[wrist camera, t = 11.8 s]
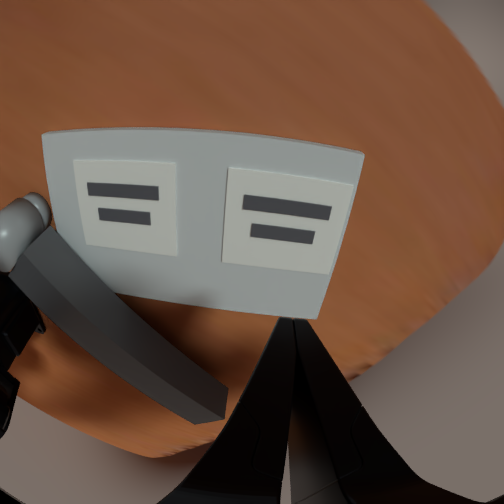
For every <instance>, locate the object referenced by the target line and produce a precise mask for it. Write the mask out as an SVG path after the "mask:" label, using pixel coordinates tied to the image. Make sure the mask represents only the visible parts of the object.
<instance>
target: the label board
mask: <svg viewBox="0 0 504 504" xmlns="http://www.w3.org/2000/svg"><path fill="white" fill-rule="evenodd" d="M42 144H43V153H44V162H45V169H46V176H47V183H48V189H49V194H50V200H51V205H52V210H53V215H54V220H55V224H56V229H57V233H58V235H59V236H60V237H61V238H62V239H63V240H64V241H65V243H66V244H67V245H68V246H69V247H70V248H71V249H72V250H73V251H74V252H75V254H76V255H77V256H78V257H79V258H80V259H81V260H82V261H83V262H84V263H85V264H86V265H87V266H88V267H89V268H90V269H91V270H92V271H93V272H94V273H95V275H96V276H97V277H98V278H99V279H100V280H101V281H102V282H103V283H104V284H105V285H106V286H107V287H109V288H110V289H111V290H112V291H113V292H114V293H120V294H125V295H131V296H137V297H142V298H148V299H154V300H161V301H167V302H173V303H180V304H187V305H193V306H200V307H208V308H215V309H223V310H231V311H239V312H247V313H256V314H265V315H275V316H285V317H295V318H307V319H317V316H318V314H319V311H320V308H321V305H322V302H323V299H324V296H325V293H326V290H327V287H328V284H329V281H330V278H331V275H332V272H333V269H334V266H335V263H336V259H337V256H338V253H339V250H340V246H341V243H342V240H343V236H344V233H345V229H346V226H347V222H348V219H349V215H350V212H351V208H352V204H353V201H354V197H355V193H356V189H357V185H358V181H359V177H360V173H361V169H362V165H363V161H364V157H365V155H364V154H363V153H362V152H361V151H356V150H352V149H347V148H342V147H337V146H331V145H326V144H320V143H315V142H309V141H303V140H296V139H290V138H283V137H275V136H267V135H259V134H250V133H241V132H230V131H218V130H204V129H187V128H156V127H121V128H92V129H75V130H62V131H51V132H47V133H44V134H42ZM23 198H25V199H27V200H29V201H30V202H31V203H32V204H33V205H34V206H35V207H36V209H37V210H38V212H39V214H40V216H41V218H42V222H43V231H44V230H45V229H46V228H47V227H49V225H50V224H51V220H52V214H51V210H50V207H49V205H48V203H47V201H46V200H45V199H44V198H43V197H42V196H41V195H40V194H38V193H35V192H31V193H28V194H27V195H26V196H24V197H23Z"/></svg>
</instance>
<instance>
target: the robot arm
mask: <svg viewBox="0 0 504 504" xmlns="http://www.w3.org/2000/svg"><path fill="white" fill-rule="evenodd" d="M9 274H10V273H9V272H2V271H0V438H1V437H2V436H3V435H4V434H5V432H6V431H7V429H8V426H9V424H10V420H11V416H12V411H13V407H14V403H15V399H16V396H17V392H18V389H19V385H20V382H19V381H18V380H17V379H16V378H14V377H13V376H12V375H11V374H10V373H9V372H8V369H9V368H10V366H11V364H12V362H13V361H14V359H15V357H16V356H19V355H20V354H21V352H22V351H23V349H24V347H25V346H26V344H27V342H28V341H29V339H30V337H31V336H32V334H33V333H34V331H35V332H38V333H41V334H44V332H45V331H46V329H45V327H44V324H43V322H42V320H41V318H40V316H39V314H38V312H37V310H36V307H35V305H34V303H33V302H32V301H31V300H30V299H29V298H28V297H27V296H26V295H25V293H24V292H23V291H22V290H21V289H20V288H19V287H18V286H17V285H16V284H15V283H14V282H13V280H12V279H11V278H10V277H9V276H8V275H9ZM361 406H362V404H361V402H360V401H359V399H358V398H357V396H356V395H355V393H354V391H353V390H352V389H351V387H350V385H349V384H348V382H347V381H346V379H345V377H344V376H343V374H342V373H341V371H340V370H339V368H338V367H337V365H336V364H335V362H334V361H333V359H332V357H331V356H330V354H329V353H328V351H327V350H326V348H325V347H324V345H323V344H322V342H321V341H320V339H319V338H318V336H317V334H316V333H315V331H314V330H313V328H312V327H311V325H310V324H309V322H308V321H307V320H306V319H298V318H294V319H293V320H292V318H287V317H279V318H278V320H277V322H276V325H275V327H274V329H273V331H272V333H271V335H270V338H269V340H268V342H267V344H266V346H265V348H264V350H263V352H262V354H261V357H260V359H259V361H258V363H257V365H256V367H255V369H254V371H253V373H252V375H251V377H250V379H249V381H248V383H247V385H246V387H245V389H244V391H243V393H242V395H241V397H240V399H239V402H238V403H237V405H236V407H235V409H234V411H233V413H232V414H231V416H230V418H229V420H228V421H227V423H226V425H225V427H224V428H223V430H222V431H221V432H220V434H219V435H218V437H217V438H216V440H215V441H214V442H213V444H212V445H211V446H210V448H209V449H208V450H207V451H206V453H205V454H204V456H203V457H202V458H201V459H200V461H199V462H198V463H197V464H196V465H195V467H194V468H193V469H192V470H191V472H190V473H189V474H188V475H187V477H185V479H184V480H183V481H182V482H181V483H180V484H179V485H178V486H177V487H176V488H175V489H174V490H173V491H172V492H170V493H169V494H168V495H167V496H166V497H164V498H163V499H162V500H161V501H159V502H158V503H157V504H280V497H281V487H282V480H283V474H284V466H285V458H286V451H287V443H288V448H289V466H290V484H291V504H504V495H502V496H499V497H497V498H495V499H493V500H491V501H488V502H486V503H484V502H477V501H473V500H471V499H468V498H465V497H463V496H460V495H457V494H455V493H452V492H450V491H447V490H445V489H442V488H440V487H437V486H435V485H433V484H430V483H428V482H426V481H425V480H423V479H422V478H420V477H419V476H418V475H417V474H416V473H415V472H414V471H413V470H412V469H411V468H410V467H409V466H408V465H407V463H406V462H405V461H404V460H403V459H402V457H401V456H400V455H399V454H398V453H397V451H396V450H395V449H394V448H393V447H392V446H391V444H390V443H389V442H388V441H387V439H386V438H385V437H384V435H382V433H381V432H380V430H379V429H378V428H377V426H376V425H375V423H374V422H373V421H372V419H371V418H370V416H369V414H368V413H367V411H366V410H365V408H364V407H363V406H362V407H361ZM0 504H25V503H23V502H22V501H20V500H18V499H17V498H15V497H14V496H12V495H11V494H9V493H8V492H6V491H5V490H3V489H2V488H0Z"/></svg>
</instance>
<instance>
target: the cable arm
mask: <svg viewBox="0 0 504 504" xmlns="http://www.w3.org/2000/svg"><path fill="white" fill-rule="evenodd" d="M12 268H13V269H12ZM11 269H12V270H11ZM10 270H11V272H10V274H9V275H8V276H9V277H10V278H11V279H12V280H13V282H14V283H15V284H16V285H17V286H18V287H19V288H20V289H21V290H22V291H23V292H24V293H25V295H26V296H27V297H28V298H29V299H30V300H31V301H32V302H33V303H34V304H35V305H36V306H37V307H38V308H39V309H40V310H41V311H42V312H43V313H44V314H45V315H46V316H47V317H49V318H50V319H51V320H52V321H53V322H54V323H55V324H56V325H57V326H58V327H59V328H60V329H61V330H63V331H64V332H65V333H66V334H67V335H68V336H69V337H70V338H72V339H73V340H74V341H75V342H76V343H77V344H79V345H80V346H81V347H82V348H83V349H85V350H86V351H87V352H88V353H89V354H91V355H92V356H93V357H94V358H96V359H97V360H98V361H100V362H101V363H102V364H103V365H105V366H106V367H107V368H109V369H110V370H111V371H113V372H114V373H115V374H117V375H118V376H119V377H121V378H122V379H124V380H125V381H126V382H128V383H129V384H131V385H132V386H134V387H135V388H136V389H138V390H139V391H141V392H142V393H144V394H145V395H147V396H148V397H150V398H151V399H153V400H154V401H156V402H158V403H159V404H161V405H162V406H164V407H166V408H167V409H169V410H171V411H172V412H174V413H176V414H177V415H179V416H181V417H182V418H184V419H186V420H188V421H189V422H191V423H193V424H201V423H207V422H213V421H218V420H224V419H225V411H226V403H227V395H228V388H227V387H226V386H225V385H223V384H222V383H221V382H219V381H218V380H217V379H215V378H214V377H212V376H211V375H210V374H208V373H207V372H206V371H205V370H203V369H202V368H201V367H199V366H198V365H197V364H195V363H194V362H193V361H192V360H190V359H189V358H188V357H187V356H185V355H184V354H183V353H182V352H180V351H179V350H178V349H177V348H175V347H174V346H173V345H172V344H171V343H169V342H168V341H167V340H166V339H165V338H163V337H162V336H161V335H160V334H159V333H158V332H156V331H155V330H154V329H153V328H152V327H151V326H149V325H148V324H147V323H146V322H145V321H144V320H143V319H142V318H140V317H139V316H138V315H137V314H136V313H135V312H134V311H133V310H132V309H131V308H130V307H128V306H127V305H126V304H125V303H124V302H123V301H122V300H121V299H120V298H119V297H118V296H117V295H116V294H115V293H114V292H113V291H112V290H111V289H110V288H109V287H107V286H106V285H105V284H104V283H103V282H102V281H101V280H100V279H99V278H98V277H97V276H96V275H95V273H94V272H93V271H92V270H91V269H90V268H89V267H88V266H87V265H86V264H85V263H84V262H83V261H82V260H81V259H80V258H79V257H78V256H77V255H76V254H75V252H74V251H73V250H72V249H71V248H70V247H69V246H68V245H67V244H66V243H65V241H64V240H63V239H62V238H61V237H60V236H59V235H58V233H57V232H56V231H55V230H54V229H53V228H52V226H51V225H50V226H49V227H48V228H47V229H46V230H45V231H44V232H43V222H42V218H41V216H40V214H39V212H38V210H37V209H36V207H35V206H34V205H33V204H32V203H31V202H30V201H29V200H27V199H25V198H17V199H15V200H14V201H12V202H11V203H10V204H8V205H7V206H6V207H5V208H3V209H2V210H1V211H0V271H2V272H9V271H10Z"/></svg>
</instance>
